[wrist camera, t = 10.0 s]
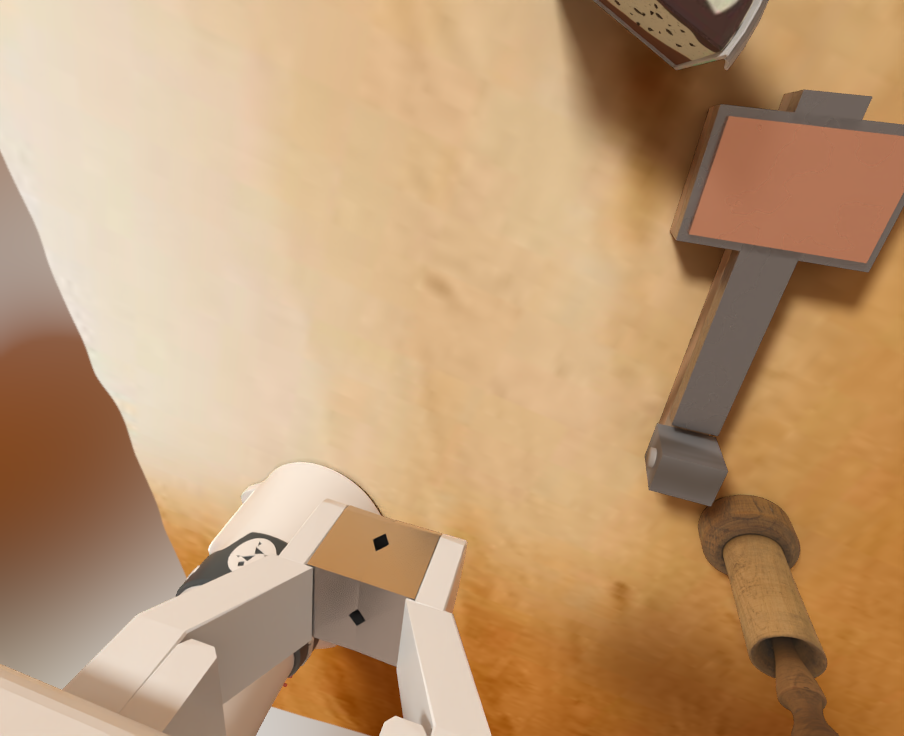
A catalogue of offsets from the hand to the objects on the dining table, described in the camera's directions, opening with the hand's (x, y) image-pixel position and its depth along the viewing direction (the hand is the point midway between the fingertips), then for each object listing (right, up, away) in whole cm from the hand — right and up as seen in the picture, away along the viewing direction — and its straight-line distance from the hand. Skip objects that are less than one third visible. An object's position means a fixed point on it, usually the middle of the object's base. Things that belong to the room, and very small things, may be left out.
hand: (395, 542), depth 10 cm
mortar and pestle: (+24, -9, +29) cm, 39 cm away
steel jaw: (+19, +9, +20) cm, 29 cm away
